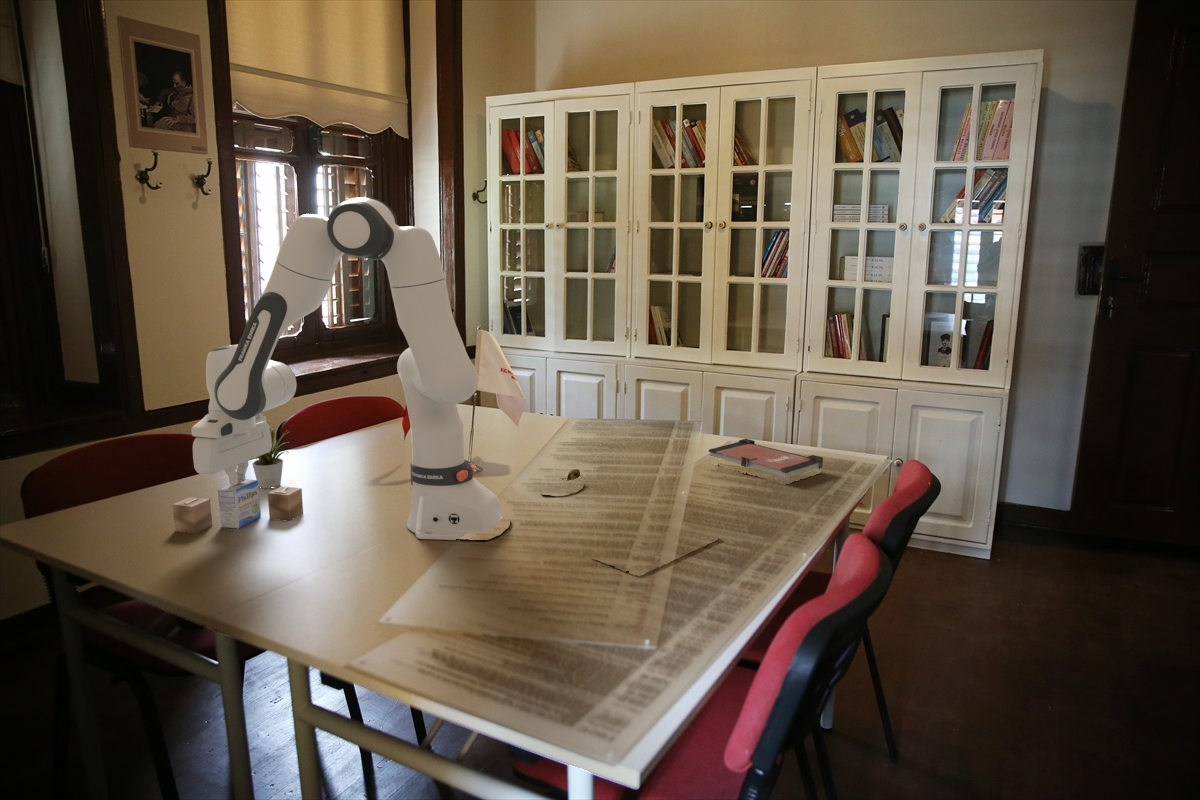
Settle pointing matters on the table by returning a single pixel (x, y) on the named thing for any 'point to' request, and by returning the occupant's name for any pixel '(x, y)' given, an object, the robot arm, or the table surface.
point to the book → (767, 458)
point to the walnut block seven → (285, 503)
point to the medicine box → (239, 504)
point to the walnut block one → (192, 515)
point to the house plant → (269, 465)
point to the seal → (573, 474)
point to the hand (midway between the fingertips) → (237, 483)
